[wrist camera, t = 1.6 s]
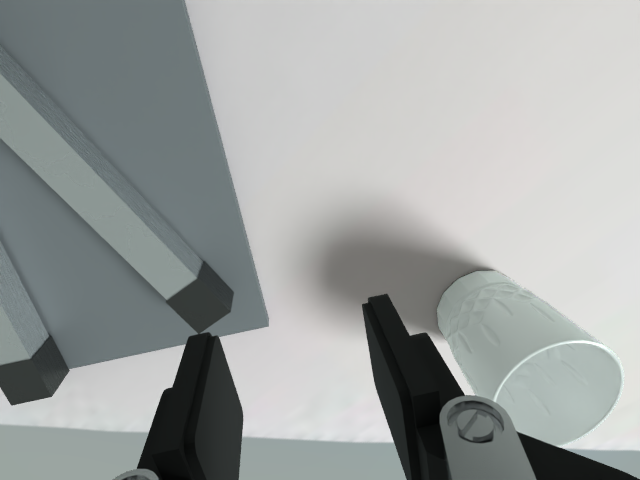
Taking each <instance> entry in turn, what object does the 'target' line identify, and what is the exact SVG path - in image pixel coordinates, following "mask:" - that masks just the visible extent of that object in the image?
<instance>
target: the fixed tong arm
mask: <svg viewBox="0 0 640 480" xmlns="http://www.w3.org/2000/svg"><path fill="white" fill-rule="evenodd" d="M69 371H70V370H69V368H68V366H67V365H66V363H65V361H64V359H63V357H62V355H61V353H60V351H59V349H58V347H57V345H56V343H55V341H54V339H53V337H52V336H49V335H48V333H47V331H46V329H45V327H44V325H43V323H42V321H41V319H40V317H39V315H38V313H37V311H36V309H35V307H34V306H33V304H32V302H31V300H30V298H29V296H28V294H27V292H26V290H25V288H24V286H23V284H22V282H21V280H20V278H19V276H18V274H17V272H16V270H15V268H14V267H13V265H12V263H11V261H10V259H9V257H8V255H7V253H6V251H5V249H4V247H3V245H2V243H1V241H0V387H1V389H2V391H3V392H4V394H5V396H6V397H7V399H8V401H9V402H10V404H11V405H16V404H21V403H25V402H30V401H35V400H39V399H44V398H48V397H52V396H53V394H54V393H55V391H56V390H57V388H58V387H59V385H60V384H61V382H62V381H63V379H64V378H65V376H66V375H67V374H68V372H69Z"/></svg>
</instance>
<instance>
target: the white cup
mask: <svg viewBox="0 0 640 480" xmlns="http://www.w3.org/2000/svg"><path fill="white" fill-rule="evenodd" d="M437 319H438V327H439V329H440V331H441V332H442V334H443V336H444V337H445V339H446V341H447V342H448V344H449V346H450V349H451V351H452V354H453V356H454V358H455V360H456V362H457V363H458V365H459V367H460V369H461V371H462V373H463V375H464V377H465V378H466V380H467V382H468V384H469V385H470V387H471V389H472V391H473V392H474V394H475V396H480V397H484V398H488V399H490V400H492V401H494V402H496V403H498V404H499V405H500V406H501V407H502V408H504V409H505V410H506V412H507V413H508V415H509V416H510V418H511V420H512V422H513V425H514V427H515V430H516V431H517V432H520V433H522V434H525V435H528V436H530V437H533V438H536V439H538V440H541V441H544V442H546V443H549V444H552V445H554V446H557V447H562V446H565V445H568V444H570V443H572V442H575V441H577V440H579V439H581V438H582V437H584V436H586V435H587V434H589V433H590V432H592V431H593V430H594V429H595V428H597V427H598V426H599V425H600V424H601V423H602V422H603V421H604V420H605V419H606V418H607V417H608V416H609V415H610V413H611V412H612V411H613V409H614V408H615V406H616V404H617V402H618V400H619V398H620V396H621V393H622V390H623V385H624V370H623V366H622V364H621V361H620V359H619V358H618V356H617V355H616V354H615V353H614V352H613V351H612V350H611V349H610V348H609V347H607V346H606V345H604V344H603V343H602V342H600V341H599V340H597V339H596V338H595V337H593V336H592V335H591V334H589V333H588V332H586V331H585V330H584V329H582V328H581V327H580V326H578V325H577V324H575V323H574V322H573V321H571V320H570V319H569V318H567V317H566V316H565V315H563V314H562V313H561V312H559V311H558V310H557V309H555V308H554V307H552V306H551V305H550V304H548V303H547V302H545V301H544V300H542V299H540V298H539V297H538V296H536V295H535V294H533V293H532V292H531V291H529V290H527V289H526V288H523V287H522V286H520V285H519V284H518V283H516V282H515V281H514V280H512V279H511V278H509V277H507V276H505V275H503V274H501V273H499V272H497V271H475V272H472V273H470V274H468V275H466V276H463V277H461V278H459V279H457V280H456V281H455V282H454V283H453V284H452V285H451V286H450V287H449V288H448V289H447V290H446V291H445V292H444V293H443V295H442V298H441V300H440V303H439V305H438V308H437Z"/></svg>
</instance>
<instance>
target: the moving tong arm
mask: <svg viewBox="0 0 640 480" xmlns="http://www.w3.org/2000/svg"><path fill="white" fill-rule="evenodd" d="M0 138H1V139H2V140H3V141H4V142H5V143H6V144H7V145H8V146H9V147H10V148H11V149H12V150H13V151H14V152H15V153H16V154H17V155H18V156H19V157H20V158H21V159H22V160H23V161H25V162H26V163H27V164H28V165H29V166H30V167H31V168H32V169H33V170H34V171H35V172H36V173H37V174H38V175H39V176H40V177H41V178H42V179H43V180H44V181H45V182H46V183H47V184H48V185H49V186H50V187H51V188H52V189H53V190H54V191H55V192H56V193H57V194H58V195H59V196H60V197H61V198H63V199H64V200H65V201H66V202H67V203H68V204H69V205H70V206H71V207H72V208H73V209H74V210H75V211H76V212H77V213H78V214H79V215H80V216H81V217H82V218H83V219H84V220H85V221H86V222H87V223H88V224H89V225H90V226H91V227H92V228H93V229H94V230H95V231H96V232H97V233H98V234H99V235H100V236H102V237H103V238H104V239H105V240H106V241H107V242H108V243H109V244H110V245H111V246H112V247H113V248H114V249H115V250H116V251H117V252H118V253H119V254H120V255H121V256H122V257H123V258H124V259H125V260H126V261H127V262H128V263H129V264H130V265H131V266H132V267H133V268H134V269H135V270H136V271H137V272H138V273H139V274H141V275H142V276H143V277H144V278H145V279H146V280H147V281H148V282H149V283H150V284H151V285H152V286H153V287H154V288H155V289H156V290H157V291H158V292H159V293H160V294H161V295H162V296H163V297H164V298H165V299H166V303H167V304H168V305H169V306H170V307H171V308H172V309H173V310H174V311H175V312H176V313H177V314H178V315H179V316H180V317H181V318H182V319H183V320H184V321H185V322H186V323H188V324H189V325H190V326H191V327H192V328H193V329H194V330H195V331H196V332H197V333H198V334H200V333H201V332H203V331H204V330H206V329H207V328H208V327H210V326H211V325H213V324H214V323H216V322H217V321H218V320H220V319H221V318H223V317H224V316H226V315H227V314H229V313H230V312H231V307H232V301H233V296H234V291H233V290H232V289H231V288H230V287H229V286H228V285H227V284H226V283H225V282H224V281H223V280H222V279H221V278H220V276H219V275H218V274H217V273H216V272H215V271H214V270H213V269H212V268H211V267H210V266H209V265H208V264H207V263H206V261H202V260H201V259H200V258H199V257H198V256H197V255H196V254H195V253H194V252H193V251H192V249H191V248H190V247H189V246H188V245H187V244H186V243H185V242H184V241H183V240H182V239H181V238H180V237H179V236H178V235H177V233H176V232H175V231H174V230H173V229H172V228H171V227H170V226H169V225H168V224H167V223H166V222H165V221H164V220H163V218H162V217H161V216H160V215H159V214H158V213H157V212H156V211H155V210H154V209H153V208H152V207H151V206H150V205H149V204H148V202H147V201H146V200H145V199H144V198H143V197H142V196H141V195H140V194H139V193H138V192H137V191H136V190H135V189H134V187H133V186H132V185H131V184H130V183H129V182H128V181H127V180H126V179H125V178H124V177H123V176H122V175H121V174H120V173H119V171H118V170H117V169H116V168H115V167H114V166H113V165H112V164H111V163H110V162H109V161H108V160H107V159H106V158H105V157H104V155H103V154H102V153H101V152H100V151H99V150H98V149H97V148H96V147H95V146H94V145H93V144H92V143H91V142H90V140H89V139H88V138H87V137H86V136H85V135H84V134H83V133H82V132H81V131H80V130H79V129H78V128H77V127H76V126H75V124H74V123H73V122H72V121H71V120H70V119H69V118H68V117H67V116H66V115H65V114H64V113H63V112H62V111H61V110H60V108H59V107H58V106H57V105H56V104H55V103H54V102H53V101H52V100H51V99H50V98H49V97H48V96H47V95H46V93H45V92H44V91H43V90H42V89H41V88H40V87H39V86H38V85H37V84H36V83H35V82H34V81H33V80H32V79H31V77H30V76H29V75H28V74H27V73H26V72H25V71H24V70H23V69H22V68H21V67H20V66H19V65H18V64H17V62H16V61H15V60H14V59H13V58H12V57H11V56H10V55H9V54H8V53H7V52H6V51H5V50H4V49H3V48H2V46H1V45H0Z"/></svg>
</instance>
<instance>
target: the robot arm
mask: <svg viewBox="0 0 640 480" xmlns="http://www.w3.org/2000/svg"><path fill="white" fill-rule="evenodd" d="M362 308H363V315H364V321H365V327H366V333H367V340H368V346H369V352H370V358H371V365H372V371H373V377H374V382H375V386H376V390H377V393H378V396H379V399H380V402H381V405H382V408H383V411H384V413H385V416H386V419H387V422H388V425H389V428H390V431H391V434H392V437H393V440H394V443H395V446H396V449H397V452H398V455H399V458H400V461H401V464H402V467H403V470H404V473H405V476H406V479H407V480H640V479H637V478H636V477H634V476H632V475H630V474H628V473H625V472H623V471H620V470H618V469H615V468H612V467H610V466H607V465H604V464H602V463H599V462H597V461H593V460H591V459H589V458H586V457H583V456H581V455H578V454H575V453H573V452H570V451H567V450H565V449H562V448H559V447H557V446H554V445H552V444H549V443H546V442H544V441H541V440H538V439H536V438H533V437H530V436H528V435H525V434H522V433H520V432H517V431H516V430H515V427H514V425H513V422H512V420H511V418H510V416H509V415H508V413H507V412H506V410H505V409H504V408H502V407H501V406H500V405H499V404H498V403H496V402H494V401H492V400H490V399H488V398H484V397H480V396H471V395H466V396H465V395H464V393H463V391H462V390H461V388H460V386H459V385H458V383H457V381H456V380H455V378H454V376H453V375H452V373H451V371H450V370H449V368H448V367H447V365H446V363H445V362H444V360H443V358H442V357H441V355H440V353H439V352H438V350H437V348H436V347H435V345H434V343H433V342H432V340H431V339H430V337H429V336H428V334H427V333H420V334H416V335H411V336H410V335H409V334H408V332H407V330H406V328H405V326H404V324H403V322H402V320H401V319H400V317H399V315H398V313H397V311H396V309H395V307H394V306H393V304H392V302H391V300H390V298H389V296H388V295H387V294H384V295H379V296H374V297H370V298H368V303H366V304H362ZM242 429H243V411H242V407H241V403H240V400H239V397H238V394H237V391H236V388H235V385H234V382H233V379H232V376H231V373H230V370H229V367H228V363H227V360H226V357H225V354H224V351H223V348H222V345H221V342H220V339H219V337H218V336H217V335H216V336H212V335H211V333H210V332H206V333H201V334H196V335H192V336H189V337H188V340H187V343H186V346H185V349H184V352H183V356H182V359H181V362H180V365H179V368H178V372H177V375H176V378H175V381H174V384H173V387H172V388H168V389H166V390H164V392H163V394H162V396H161V399H160V402H159V405H158V408H157V411H156V414H155V416H154V419H153V422H152V425H151V428H150V431H149V434H148V437H147V440H146V443H145V446H144V449H143V452H142V455H141V458H140V461H139V464H138V467H137V469H135V470H131V471H128V472H125V473H123V474H121V475H119V476H117V477H116V478H115V479H113V480H238V479H239V467H240V454H241V441H242Z"/></svg>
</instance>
